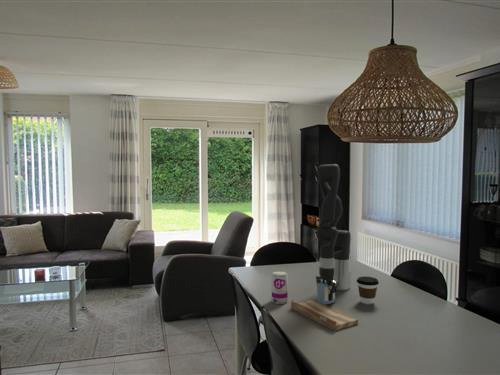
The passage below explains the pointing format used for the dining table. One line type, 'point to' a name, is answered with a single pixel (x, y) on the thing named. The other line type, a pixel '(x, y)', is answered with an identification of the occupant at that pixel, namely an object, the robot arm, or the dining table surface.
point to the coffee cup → (367, 289)
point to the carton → (323, 294)
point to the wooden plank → (324, 314)
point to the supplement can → (279, 287)
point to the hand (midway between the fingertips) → (326, 298)
